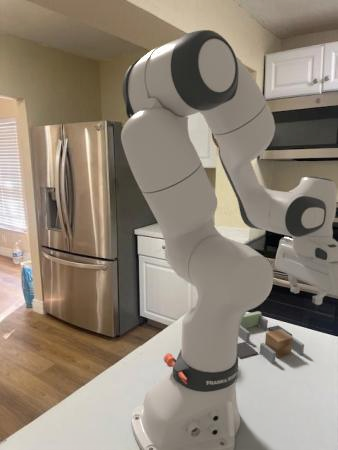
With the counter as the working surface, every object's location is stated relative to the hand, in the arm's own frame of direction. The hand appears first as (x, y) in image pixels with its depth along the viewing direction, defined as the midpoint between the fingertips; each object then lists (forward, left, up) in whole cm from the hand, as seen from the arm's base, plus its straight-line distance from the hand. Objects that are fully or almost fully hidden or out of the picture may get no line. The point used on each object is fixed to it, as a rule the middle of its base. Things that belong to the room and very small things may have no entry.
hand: (305, 297), depth 84 cm
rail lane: (0, +13, -19) cm, 23 cm away
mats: (-1, +14, -19) cm, 23 cm away
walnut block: (0, +8, -19) cm, 21 cm away
